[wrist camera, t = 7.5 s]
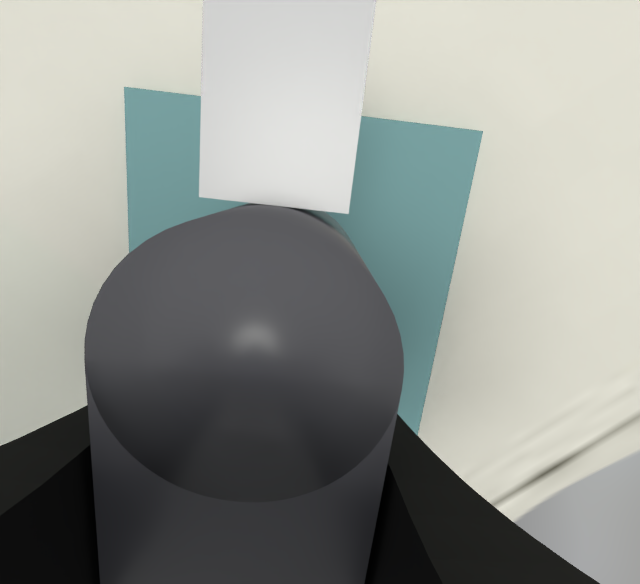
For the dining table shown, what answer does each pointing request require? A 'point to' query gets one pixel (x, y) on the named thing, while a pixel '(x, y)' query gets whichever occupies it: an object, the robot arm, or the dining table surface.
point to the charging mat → (360, 224)
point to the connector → (251, 330)
